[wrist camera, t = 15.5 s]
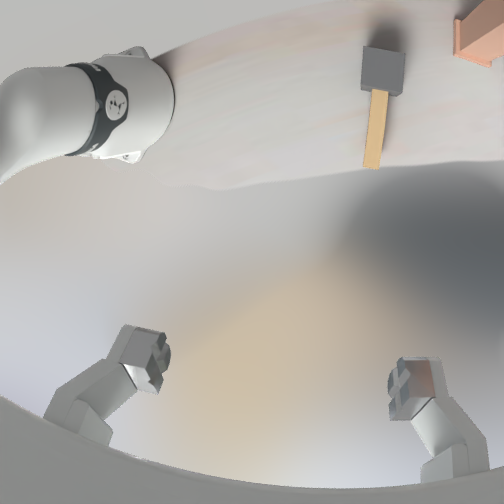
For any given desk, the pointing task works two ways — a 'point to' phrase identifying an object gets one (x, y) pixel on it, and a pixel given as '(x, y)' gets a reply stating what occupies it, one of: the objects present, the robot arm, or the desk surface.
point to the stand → (481, 33)
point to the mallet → (379, 95)
